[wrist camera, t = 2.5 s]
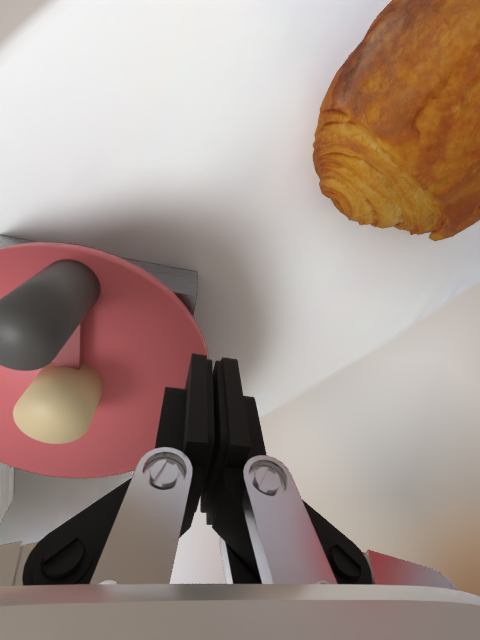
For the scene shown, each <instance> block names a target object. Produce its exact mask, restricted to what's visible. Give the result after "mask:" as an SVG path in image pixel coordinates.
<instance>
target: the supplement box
mask: <svg viewBox="0 0 480 640" xmlns="http://www.w3.org/2000/svg"><path fill="white" fill-rule="evenodd" d="M13 497H14V467H12V466H9V465H6V464H3V463H1V462H0V523H1V521H2V519H3V517H4V515H5V513H6V512H7V510H8V508H9V506H10V504H11V502H12V501H13Z"/></svg>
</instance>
